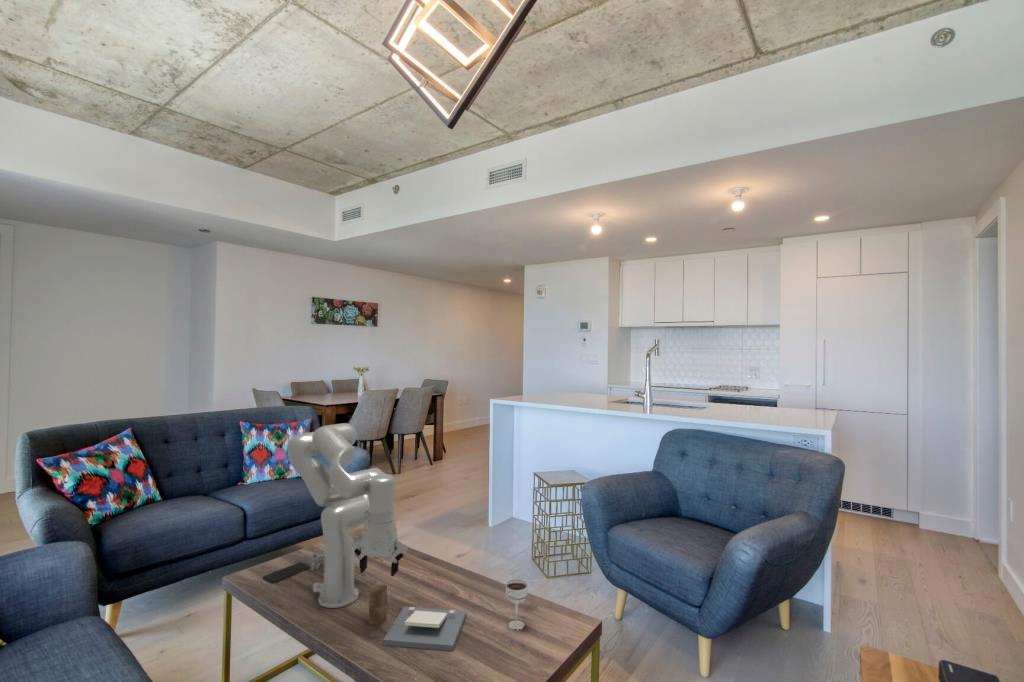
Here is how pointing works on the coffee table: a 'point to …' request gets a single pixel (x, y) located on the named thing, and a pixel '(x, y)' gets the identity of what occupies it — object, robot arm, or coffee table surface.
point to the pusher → (377, 604)
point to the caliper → (317, 560)
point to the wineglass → (516, 598)
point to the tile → (426, 619)
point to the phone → (286, 572)
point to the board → (426, 631)
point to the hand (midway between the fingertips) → (378, 572)
